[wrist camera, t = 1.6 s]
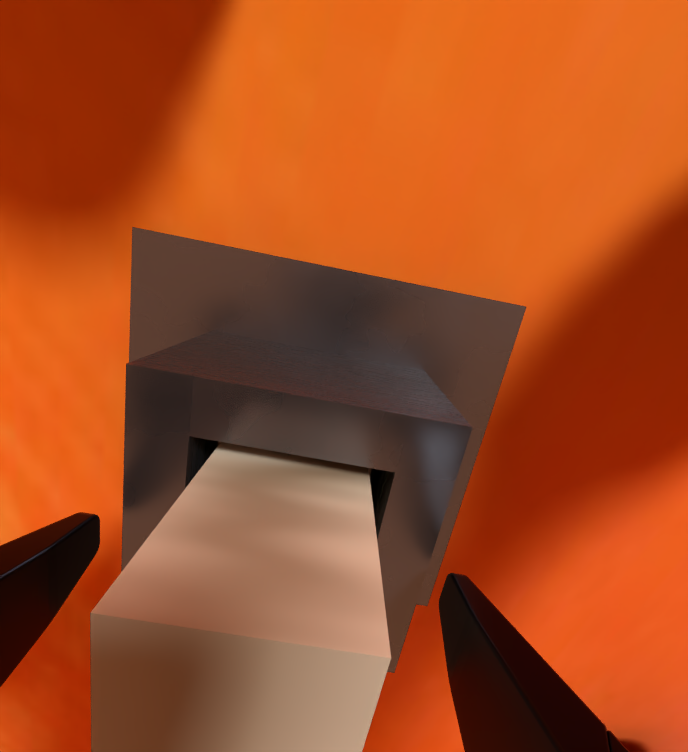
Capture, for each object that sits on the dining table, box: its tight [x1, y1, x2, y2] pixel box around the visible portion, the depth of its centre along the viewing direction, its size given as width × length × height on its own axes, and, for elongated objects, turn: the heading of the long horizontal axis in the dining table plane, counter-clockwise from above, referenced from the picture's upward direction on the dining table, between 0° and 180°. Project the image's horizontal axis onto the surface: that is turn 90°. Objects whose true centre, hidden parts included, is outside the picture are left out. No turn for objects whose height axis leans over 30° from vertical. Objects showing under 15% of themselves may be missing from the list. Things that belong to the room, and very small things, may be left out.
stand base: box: [121, 227, 526, 673], centre depth 11 cm, size 14×14×7 cm
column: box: [90, 441, 391, 752], centre depth 9 cm, size 4×4×9 cm
